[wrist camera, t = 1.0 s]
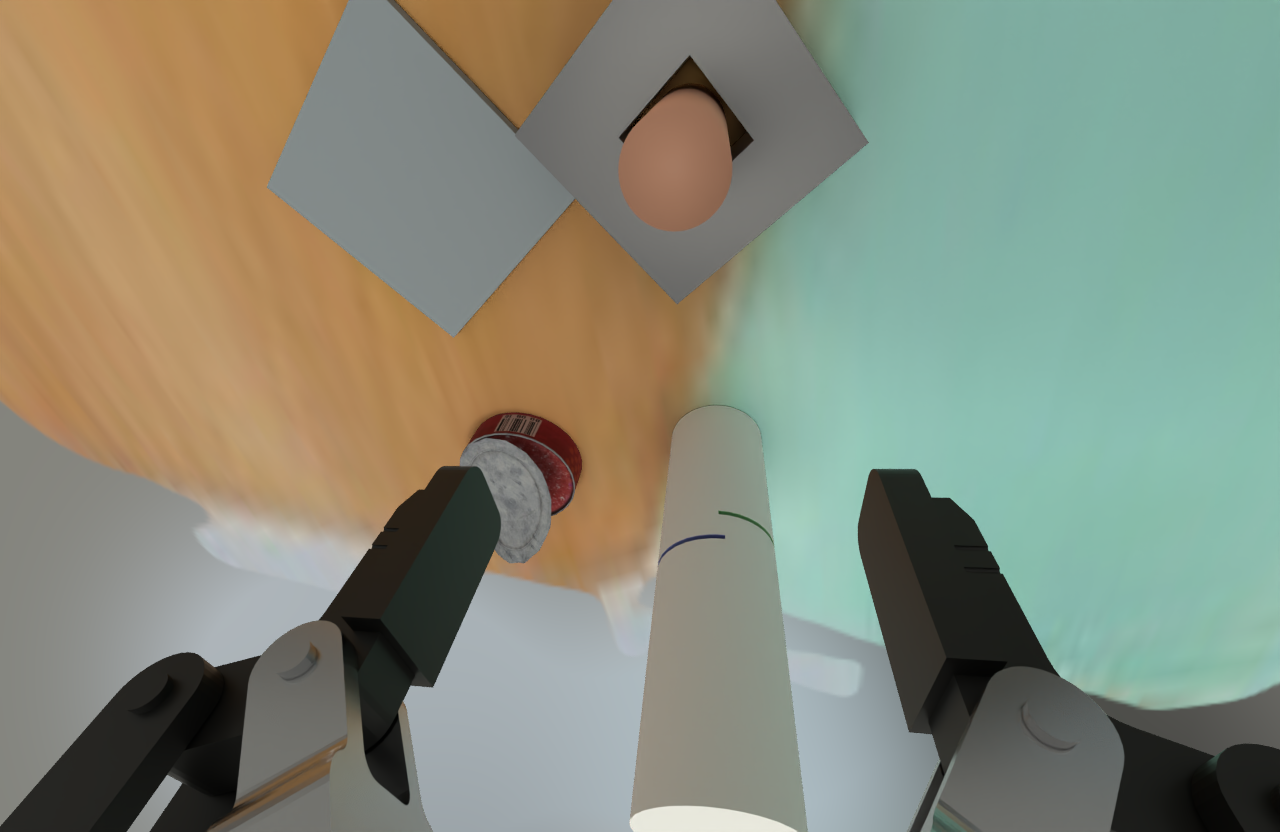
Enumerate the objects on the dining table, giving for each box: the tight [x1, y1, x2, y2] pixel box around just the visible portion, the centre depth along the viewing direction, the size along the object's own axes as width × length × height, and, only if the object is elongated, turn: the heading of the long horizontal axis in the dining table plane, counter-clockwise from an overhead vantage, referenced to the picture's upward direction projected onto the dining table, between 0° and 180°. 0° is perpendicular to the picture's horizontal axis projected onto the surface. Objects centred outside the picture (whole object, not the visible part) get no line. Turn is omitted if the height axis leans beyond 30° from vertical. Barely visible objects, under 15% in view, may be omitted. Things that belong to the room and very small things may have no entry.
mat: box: [267, 0, 575, 337], centre depth 30 cm, size 14×14×1 cm
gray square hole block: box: [515, 0, 869, 304], centre depth 25 cm, size 12×12×4 cm
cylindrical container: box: [630, 405, 808, 832], centre depth 30 cm, size 7×7×25 cm
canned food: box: [460, 413, 582, 563], centre depth 41 cm, size 11×10×10 cm
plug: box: [618, 84, 732, 232], centre depth 22 cm, size 4×4×12 cm
